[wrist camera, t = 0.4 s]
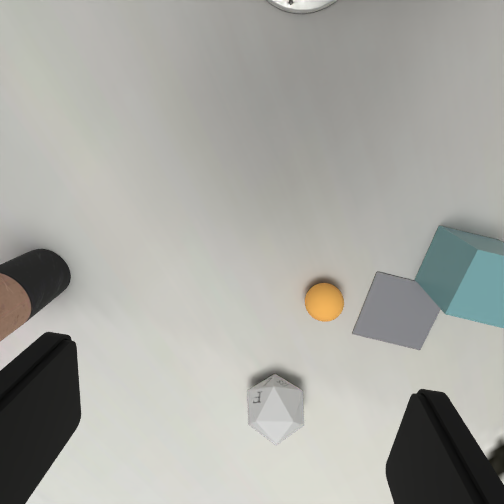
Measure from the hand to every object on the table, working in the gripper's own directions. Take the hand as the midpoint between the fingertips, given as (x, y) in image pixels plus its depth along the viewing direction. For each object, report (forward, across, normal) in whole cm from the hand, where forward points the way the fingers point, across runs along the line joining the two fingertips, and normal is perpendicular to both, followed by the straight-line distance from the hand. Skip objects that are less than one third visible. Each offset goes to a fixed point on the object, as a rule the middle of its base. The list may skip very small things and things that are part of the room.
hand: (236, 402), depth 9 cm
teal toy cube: (+35, -25, +6) cm, 43 cm away
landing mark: (+35, -20, +14) cm, 43 cm away
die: (+36, -5, +31) cm, 47 cm away
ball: (+33, -9, +13) cm, 36 cm away
